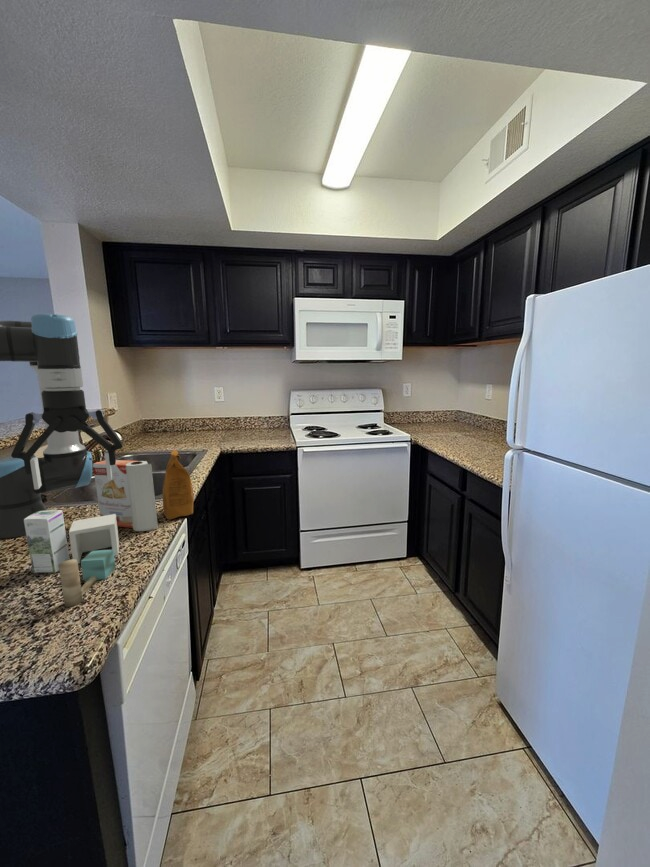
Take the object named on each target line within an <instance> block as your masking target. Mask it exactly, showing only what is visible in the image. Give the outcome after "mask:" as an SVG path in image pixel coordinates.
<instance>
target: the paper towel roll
mask: <svg viewBox="0 0 650 867" xmlns="http://www.w3.org/2000/svg"><path fill="white" fill-rule="evenodd" d="M135 461H136V462H130V463H127V464H126V471H127V480H128V488H129V497H130V505H131V514H132V522H133V528H132V529H133V531H134V532H145V531H146V532H147V531H150V530H157V529H159V526H158V518H157V517H158V516H157V515H158V514H157V506H156V505H157V504H156V497H155V488H154V479H153V469H152V463H148V461H147V460H135Z"/></svg>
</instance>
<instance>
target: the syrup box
mask: <svg viewBox="0 0 650 867" xmlns="http://www.w3.org/2000/svg"><path fill="white" fill-rule="evenodd" d="M24 525H25V530H26V535H25V536H26V541H27V547H28V551H29V553H28V554H29V558H30V563H31V570H32V573H33V574H50V573H51V574H52V573H53V574H54V573H58V572H60V571H59V564H60V563H62V562H64V561H67V560H71V557H70V552H69V548H68V547H69V545H68V540H67V532H66V527H65V519H64V513H63V510H62V509H60V510H59V509H55V510H48V511H38V512H36V513H34V514H32V515H30V516H28V517H27V518H25V519H24Z"/></svg>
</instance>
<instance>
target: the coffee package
mask: <svg viewBox="0 0 650 867" xmlns="http://www.w3.org/2000/svg"><path fill="white" fill-rule="evenodd" d="M169 454H170V458H168V459H169V460H168V463H167V465H166V469H165V476H164V480H163V484H162V506H163V508H162V509H163V514H164V516H165V517H166V519H167V520H173V519H176V518H180V517H187V516H189V515H193V514H194V500H195V499H194V496H195V495H194V488H193V484H192V479H191V475H190V473H189V472H188V471H187V469H186V468H185V467H184V466H183V465H182V463H180V461H179V460H181V456H180V455H179V452H178V451H177V450H176V449H172V451H171V452H170V453H169Z"/></svg>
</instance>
